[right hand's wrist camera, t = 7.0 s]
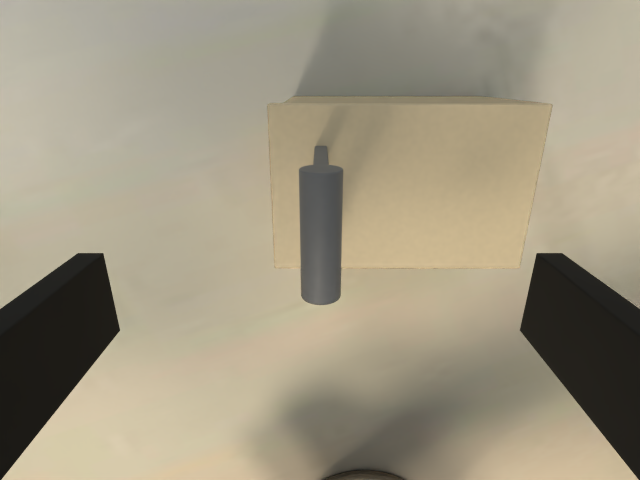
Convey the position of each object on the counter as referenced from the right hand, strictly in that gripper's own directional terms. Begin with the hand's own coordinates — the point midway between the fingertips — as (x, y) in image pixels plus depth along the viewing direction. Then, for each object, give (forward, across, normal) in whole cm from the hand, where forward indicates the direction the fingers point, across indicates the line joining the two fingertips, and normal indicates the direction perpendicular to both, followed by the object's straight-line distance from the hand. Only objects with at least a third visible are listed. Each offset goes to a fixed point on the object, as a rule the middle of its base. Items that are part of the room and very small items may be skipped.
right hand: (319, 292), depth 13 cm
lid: (+13, -5, 0) cm, 14 cm away
